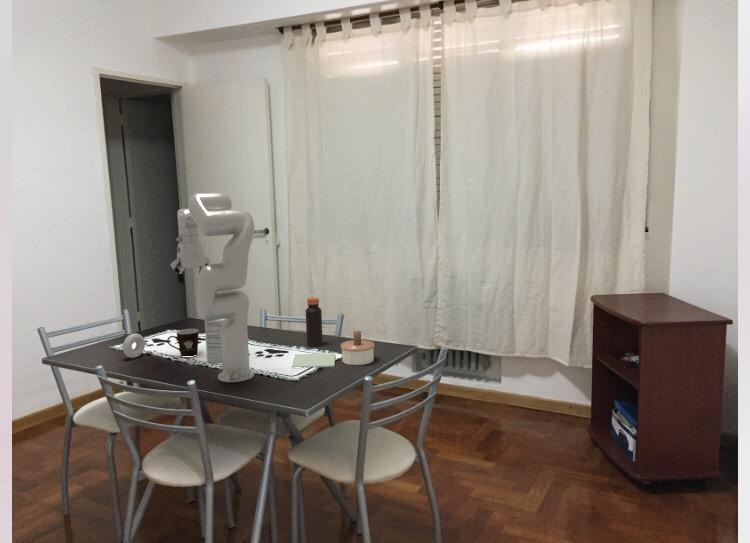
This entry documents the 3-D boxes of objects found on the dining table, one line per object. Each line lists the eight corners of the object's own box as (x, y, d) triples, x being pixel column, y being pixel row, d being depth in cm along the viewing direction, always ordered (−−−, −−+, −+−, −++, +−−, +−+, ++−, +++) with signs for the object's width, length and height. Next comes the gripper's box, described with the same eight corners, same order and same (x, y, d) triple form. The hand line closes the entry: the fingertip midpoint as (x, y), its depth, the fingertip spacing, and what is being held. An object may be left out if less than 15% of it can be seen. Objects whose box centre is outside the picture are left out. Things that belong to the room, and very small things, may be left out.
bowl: (374, 364, 221) (373, 350, 220) (342, 365, 220) (342, 351, 219) (372, 355, 232) (372, 341, 232) (342, 356, 232) (342, 343, 231)
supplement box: (230, 362, 227) (228, 320, 224) (206, 363, 227) (204, 320, 224) (236, 355, 236) (233, 314, 234) (213, 355, 236) (210, 315, 234)
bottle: (318, 347, 246) (317, 300, 243) (304, 345, 248) (302, 299, 245) (325, 342, 252) (323, 297, 249) (310, 341, 254) (309, 296, 251)
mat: (334, 366, 219) (334, 365, 219) (291, 368, 218) (291, 366, 218) (335, 354, 235) (335, 353, 235) (295, 355, 234) (295, 354, 234)
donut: (127, 361, 231) (125, 337, 229) (121, 360, 232) (119, 336, 231) (147, 354, 240) (145, 331, 238) (141, 353, 241) (139, 330, 240)
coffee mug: (203, 352, 241) (202, 328, 240) (195, 358, 233) (193, 334, 231) (176, 352, 243) (174, 328, 241) (167, 358, 234) (165, 334, 233)
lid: (375, 350, 219) (374, 335, 218) (340, 352, 219) (340, 336, 218) (373, 341, 232) (373, 327, 231) (340, 342, 232) (340, 328, 231)
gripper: (174, 241, 225) (177, 285, 227) (213, 238, 237) (215, 279, 240) (164, 241, 230) (167, 283, 232) (202, 237, 242) (205, 278, 245)
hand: (192, 281), depth 236 cm, fingers open, 9 cm apart
